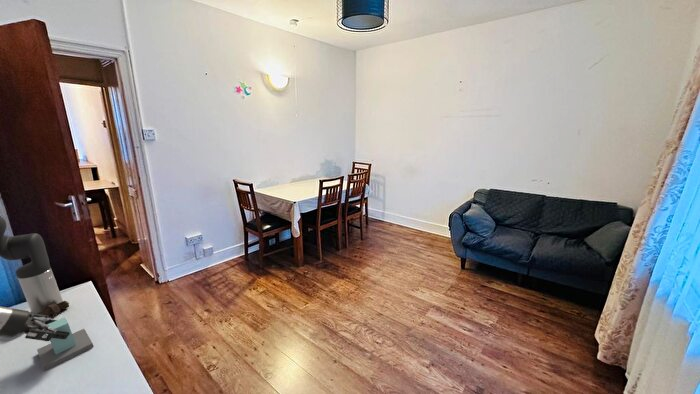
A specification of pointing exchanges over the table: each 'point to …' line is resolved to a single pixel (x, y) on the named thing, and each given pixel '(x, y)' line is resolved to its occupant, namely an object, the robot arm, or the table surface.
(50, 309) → the bolt
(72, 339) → the block
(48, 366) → the base plate
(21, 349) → the table surface
